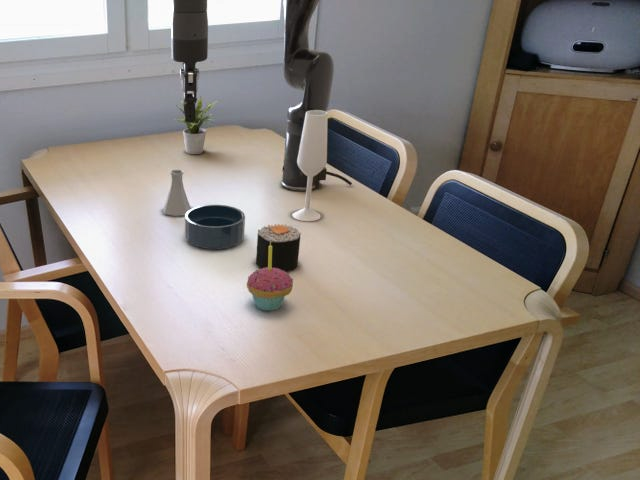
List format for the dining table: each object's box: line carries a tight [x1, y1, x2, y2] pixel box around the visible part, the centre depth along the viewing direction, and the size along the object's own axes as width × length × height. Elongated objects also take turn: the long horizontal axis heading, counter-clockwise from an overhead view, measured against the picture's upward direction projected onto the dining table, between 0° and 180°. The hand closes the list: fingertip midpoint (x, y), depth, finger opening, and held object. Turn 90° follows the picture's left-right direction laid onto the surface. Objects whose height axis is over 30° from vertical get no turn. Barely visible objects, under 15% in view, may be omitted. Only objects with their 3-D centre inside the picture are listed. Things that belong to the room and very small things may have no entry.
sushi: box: [255, 223, 302, 273], centre depth 139 cm, size 8×8×8 cm
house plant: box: [174, 95, 219, 155], centre depth 202 cm, size 14×14×16 cm
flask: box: [162, 169, 192, 217], centre depth 165 cm, size 7×7×10 cm
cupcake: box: [246, 241, 294, 312], centre depth 124 cm, size 9×8×12 cm
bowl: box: [184, 204, 246, 250], centre depth 152 cm, size 13×13×6 cm
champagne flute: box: [291, 110, 329, 222], centre depth 156 cm, size 7×7×24 cm
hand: (189, 116), depth 149 cm, fingers open, 7 cm apart
